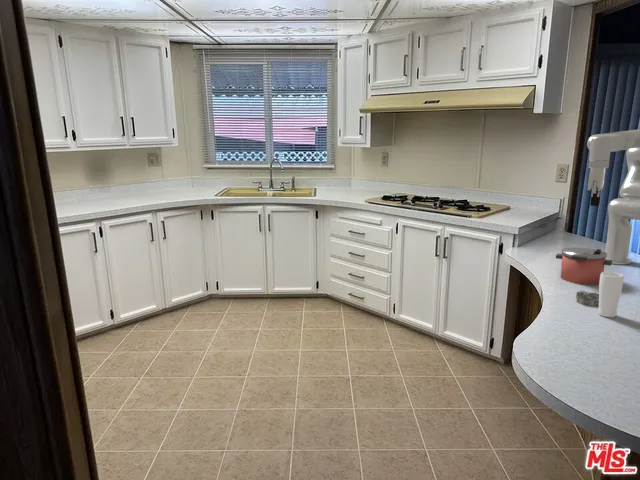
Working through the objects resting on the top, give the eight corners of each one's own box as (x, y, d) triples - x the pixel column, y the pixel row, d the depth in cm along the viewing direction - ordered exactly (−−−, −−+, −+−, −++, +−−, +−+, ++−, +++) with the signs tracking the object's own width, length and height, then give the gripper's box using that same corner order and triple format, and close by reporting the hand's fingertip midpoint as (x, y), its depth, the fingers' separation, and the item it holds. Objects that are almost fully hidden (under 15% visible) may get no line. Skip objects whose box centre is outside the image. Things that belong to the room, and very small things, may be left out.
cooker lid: (566, 248, 201) (566, 242, 200) (609, 253, 190) (610, 246, 189) (556, 256, 186) (556, 249, 186) (602, 262, 175) (603, 255, 175)
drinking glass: (622, 319, 148) (627, 277, 145) (600, 318, 150) (605, 277, 146) (613, 311, 155) (618, 271, 152) (592, 311, 156) (597, 271, 153)
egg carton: (574, 304, 164) (575, 293, 163) (575, 297, 170) (576, 288, 169) (608, 308, 158) (609, 298, 157) (608, 302, 165) (609, 292, 164)
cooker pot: (560, 269, 205) (562, 247, 203) (612, 277, 192) (615, 253, 190) (550, 279, 192) (552, 255, 190) (605, 288, 179) (609, 262, 176)
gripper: (591, 162, 198) (588, 202, 202) (585, 165, 187) (581, 207, 191) (611, 162, 193) (607, 203, 198) (606, 165, 182) (601, 208, 187)
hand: (594, 205), depth 194 cm, fingers closed
